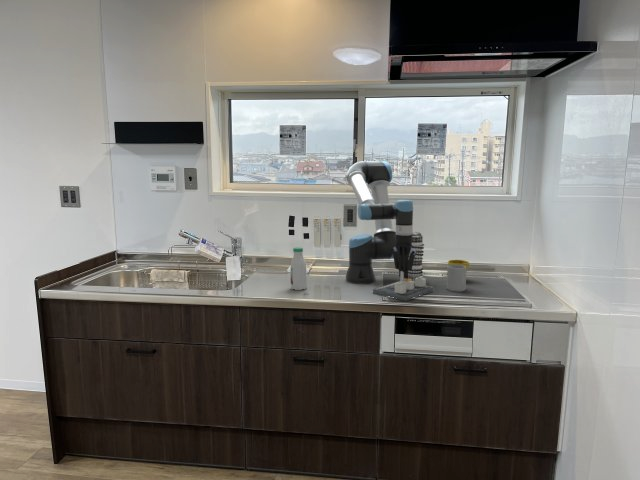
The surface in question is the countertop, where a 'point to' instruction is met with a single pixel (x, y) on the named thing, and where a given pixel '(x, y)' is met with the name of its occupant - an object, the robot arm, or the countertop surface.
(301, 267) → the milk bottle
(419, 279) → the breaker right
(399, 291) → the breaker left
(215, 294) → the countertop surface
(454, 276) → the mug
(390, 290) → the panel
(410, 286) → the breaker mid
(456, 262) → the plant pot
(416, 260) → the decorative candle
